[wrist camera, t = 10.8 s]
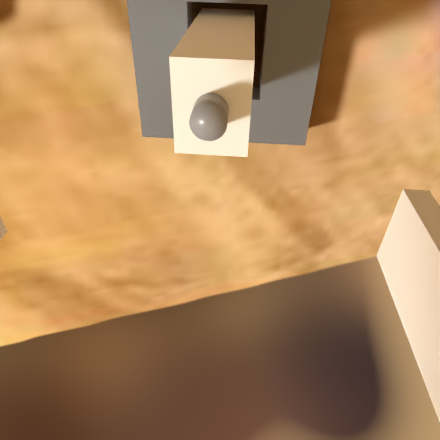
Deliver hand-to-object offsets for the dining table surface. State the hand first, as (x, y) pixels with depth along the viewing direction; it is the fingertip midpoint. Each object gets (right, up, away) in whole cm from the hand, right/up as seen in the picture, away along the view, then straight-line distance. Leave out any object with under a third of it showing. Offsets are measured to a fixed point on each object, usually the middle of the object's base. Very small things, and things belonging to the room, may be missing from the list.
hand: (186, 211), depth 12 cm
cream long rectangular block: (+2, +14, +18) cm, 23 cm away
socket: (+2, +14, +18) cm, 23 cm away
